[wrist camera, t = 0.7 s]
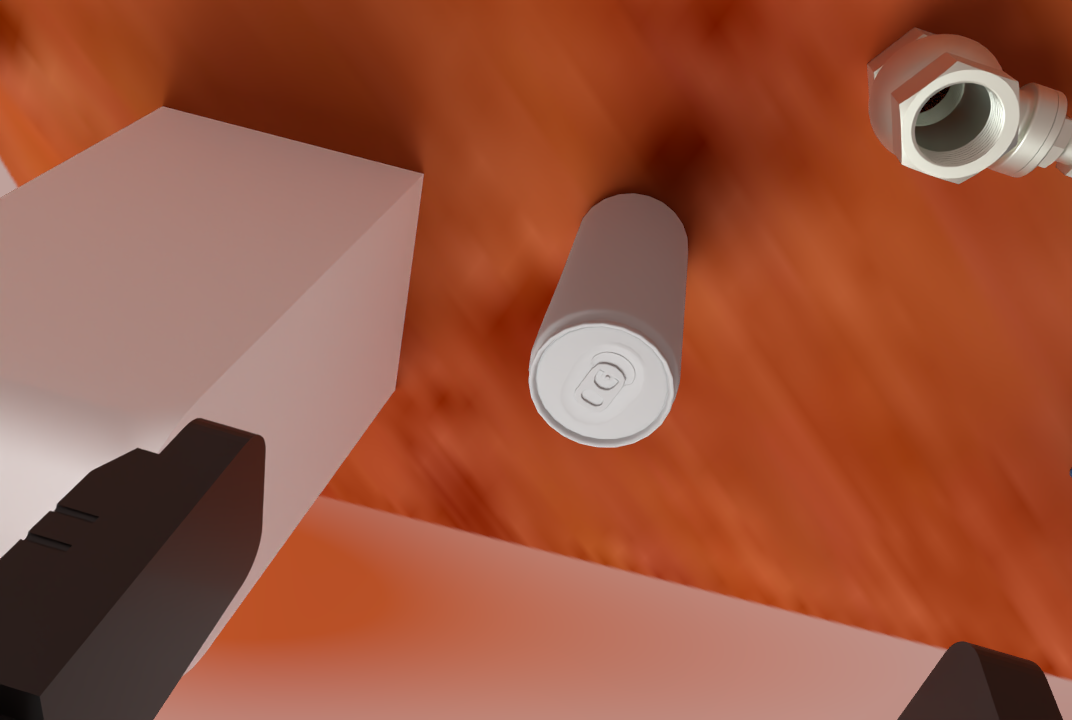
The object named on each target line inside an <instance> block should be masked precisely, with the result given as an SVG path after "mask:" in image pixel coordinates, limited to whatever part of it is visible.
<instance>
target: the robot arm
mask: <svg viewBox="0 0 1072 720" xmlns="http://www.w3.org/2000/svg"><path fill="white" fill-rule="evenodd" d="M265 457H266V445H265V440H264V438H263V437H262V436H261V435H258V434H255V433H251V432H248V431H244V430H241V429H237V428H234V427H230V426H227V425H224V424H220V423H217V422H213V421H210V420H206V419H203V418H196V419H194V420H192V421H191V422H189V423H188V424H187V425H186V426H185V427H184V428H183V429H182V430H181V431H180V432H179V433H178V434H177V436H176V437H175V438H174V439H173V440H172V441H171V442H170V443H169V444H168V445H167V446H166V447H165V448H164V449H163V450H162V451H161V452H160V453H159V454H157V453H154V452H150V451H147V450H144V449H140V448H136V449H134V450H132V451H130V452H128V453H126V454H124V455H122V456H120V457H118V458H116V459H114V460H112V461H110V462H108V463H106V464H104V465H102V466H100V467H98V468H96V469H94V470H92V471H90V472H89V473H88V474H87V475H86V476H85V477H84V478H83V479H82V480H81V481H80V482H79V483H78V484H77V485H76V486H75V487H74V488H73V489H72V490H71V491H70V492H69V493H68V494H66V495H65V496H64V497H63V498H62V499H61V500H60V501H59V502H58V503H57V506H56V509H55V510H54V511H49V512H48V513H47V514H46V515H45V516H44V517H43V518H42V519H41V520H40V521H39V522H38V523H36V524H35V525H34V526H33V527H32V528H31V529H30V530H29V531H28V535H27V537H26V538H25V539H24V540H22V539H20V540H19V541H18V542H17V543H16V544H15V545H14V546H13V547H12V548H11V549H10V550H9V551H8V552H6V553H5V554H4V555H3V556H2V557H1V558H0V720H153V719H154V718H155V716H156V715H157V713H158V712H159V710H160V709H161V707H162V706H163V704H164V703H165V701H166V700H167V698H168V697H169V695H170V694H171V692H172V690H173V689H174V688H175V686H176V685H177V683H178V681H179V680H180V679H181V677H182V676H183V674H184V672H185V671H186V669H187V668H188V666H189V665H190V663H191V662H192V660H193V659H194V657H195V656H196V654H197V653H198V651H199V650H200V648H201V647H202V645H203V644H204V642H205V641H206V639H207V638H208V636H209V635H210V633H211V632H212V630H213V629H214V627H215V626H216V624H217V623H218V621H219V620H220V618H221V617H222V615H223V613H224V612H225V610H226V609H227V607H228V606H229V604H230V603H231V601H232V600H233V598H234V597H235V595H236V594H237V592H238V591H239V589H240V588H241V586H242V585H243V583H244V581H245V580H246V578H247V576H248V574H249V572H250V570H251V568H252V565H253V563H254V560H255V558H256V555H257V552H258V548H259V545H260V541H261V535H262V524H263V502H264V479H265ZM898 720H1063V719H1062V716H1061V714H1060V711H1059V709H1058V706H1057V704H1056V701H1055V699H1054V696H1053V694H1052V691H1051V689H1050V686H1049V684H1048V681H1047V679H1046V677H1045V675H1044V673H1043V671H1042V670H1041V668H1040V667H1039V666H1038V665H1037V664H1036V663H1034V662H1032V661H1030V660H1026V659H1023V658H1019V657H1016V656H1012V655H1009V654H1005V653H1002V652H998V651H995V650H992V649H988V648H985V647H981V646H978V645H974V644H971V643H967V642H963V641H962V642H957V643H955V644H953V645H952V646H951V647H950V648H949V649H948V650H947V651H946V652H945V654H944V655H943V657H942V658H941V659H940V661H939V662H938V664H937V665H936V666H935V668H934V669H933V671H932V672H931V673H930V675H929V676H928V678H927V679H926V680H925V682H924V683H923V685H922V686H921V687H920V689H919V690H918V692H917V693H916V694H915V696H914V697H913V699H912V700H911V701H910V703H909V704H908V705H907V707H906V708H905V710H904V711H903V713H902V714H901V715H900V717H899V718H898Z"/></svg>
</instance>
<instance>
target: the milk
mask: <svg viewBox="0 0 1072 720" xmlns="http://www.w3.org/2000/svg"><path fill="white" fill-rule="evenodd" d="M423 177H424V174H422V173H418V172H414V171H410V170H407V169H403V168H399V167H395V166H391V165H387V164H383V163H380V162H376V161H372V160H368V159H364V158H360V157H356V156H353V155H349V154H345V153H341V152H337V151H333V150H329V149H326V148H322V147H318V146H314V145H310V144H306V143H302V142H299V141H295V140H291V139H287V138H283V137H279V136H275V135H272V134H268V133H264V132H260V131H256V130H252V129H248V128H245V127H241V126H237V125H233V124H229V123H225V122H222V121H218V120H214V119H210V118H206V117H202V116H198V115H195V114H191V113H187V112H183V111H179V110H175V109H171V108H168V107H164V106H162V107H161V108H159V109H157V110H155V111H153V112H152V113H150V114H148V115H146V116H145V117H143V118H141V119H139V120H137V121H136V122H134V123H132V124H130V125H129V126H127V127H125V128H123V129H121V130H120V131H118V132H116V133H114V134H113V135H111V136H109V137H107V138H106V139H104V140H102V141H100V142H98V143H97V144H95V145H93V146H91V147H90V148H88V149H86V150H84V151H82V152H81V153H79V154H77V155H75V156H74V157H72V158H70V159H68V160H66V161H65V162H63V163H61V164H59V165H58V166H56V167H54V168H52V169H51V170H49V171H47V172H45V173H43V174H42V175H40V176H38V177H36V178H35V179H33V180H31V181H29V182H27V183H26V184H24V185H22V186H20V187H19V188H17V189H15V190H13V191H11V192H10V193H8V194H6V195H4V196H3V197H1V198H0V558H1V557H2V556H3V555H4V554H5V553H6V552H8V551H9V550H10V549H11V548H12V547H13V546H14V545H15V544H16V543H17V542H18V541H19V540H20V539H22V540H24V539H25V538H26V537H27V535H28V531H29V530H30V529H31V528H32V527H33V526H34V525H35V524H36V523H38V522H39V521H40V520H41V519H42V518H43V517H44V516H45V515H46V514H47V513H48V512H49V511H54V510H55V509H56V506H57V503H58V502H59V501H60V500H61V499H62V498H63V497H64V496H65V495H66V494H68V493H69V492H70V491H71V490H72V489H73V488H74V487H75V486H76V485H77V484H78V483H79V482H80V481H81V480H82V479H83V478H84V477H85V476H86V475H87V474H88V473H89V472H90V471H92V470H94V469H96V468H98V467H100V466H102V465H104V464H106V463H108V462H110V461H112V460H114V459H116V458H118V457H120V456H122V455H124V454H126V453H128V452H130V451H132V450H134V449H136V448H140V449H144V450H147V451H150V452H154V453H157V454H159V453H160V452H161V451H162V450H163V449H164V448H165V447H166V446H167V445H168V444H169V443H170V442H171V441H172V440H173V439H174V438H175V437H176V436H177V434H178V433H179V432H180V431H181V430H182V429H183V428H184V427H185V426H186V425H187V424H188V423H189V422H191V421H192V420H194V419H196V418H203V419H206V420H210V421H213V422H217V423H220V424H224V425H227V426H230V427H234V428H237V429H241V430H244V431H248V432H251V433H255V434H258V435H261V436H262V437H263V438H264V440H265V445H266V457H265V479H264V502H263V524H262V535H261V541H260V545H259V548H258V552H257V555H256V558H255V560H254V563H253V565H252V568H251V570H250V572H249V574H248V576H247V578H246V580H245V581H244V583H243V585H242V586H241V588H240V589H239V591H238V592H237V594H236V595H235V597H234V598H233V600H232V601H231V603H230V604H229V606H228V607H227V609H226V610H225V612H224V613H223V615H222V617H221V618H220V620H219V621H218V623H217V624H216V626H215V627H214V629H213V630H212V632H211V633H210V635H209V636H208V638H207V639H206V641H205V642H204V644H203V645H202V647H201V648H200V650H199V651H198V653H197V654H196V656H195V657H194V659H193V660H192V662H191V663H190V665H189V666H188V668H187V669H186V671H185V672H184V674H185V673H187V672H188V671H189V670H190V669H192V668H193V667H194V666H195V664H196V663H197V662H198V661H199V660H200V659H201V657H202V656H203V655H204V654H205V652H206V651H207V650H208V649H209V647H210V646H211V644H212V643H213V642H214V640H215V639H216V637H217V636H218V635H219V633H220V632H221V630H222V629H223V628H224V626H225V625H226V623H227V622H228V621H229V619H230V618H231V617H232V615H233V614H234V612H235V611H236V610H237V608H238V607H239V606H240V604H241V603H242V601H243V600H244V599H245V597H246V596H247V594H248V593H249V591H250V590H251V589H252V587H253V586H254V585H255V583H256V582H257V580H258V579H259V578H260V576H261V575H262V574H263V572H264V571H265V569H266V568H267V567H268V565H269V564H270V563H271V561H272V560H273V558H274V557H275V556H276V554H277V553H278V551H279V550H280V548H281V547H282V546H283V545H284V543H285V542H286V540H287V539H288V537H289V536H290V535H291V533H292V532H293V531H294V529H295V528H296V526H297V525H298V524H299V522H300V521H301V520H302V518H303V516H304V515H305V514H306V513H307V511H308V510H309V508H310V507H311V506H312V504H313V503H314V502H315V500H316V499H317V497H318V496H319V495H320V493H321V492H322V490H323V489H324V488H325V486H326V485H327V483H328V482H329V481H330V479H331V478H332V477H333V475H334V474H335V472H336V471H337V470H338V468H339V467H340V465H341V464H342V463H343V461H344V460H345V459H346V457H347V456H348V454H349V453H350V452H351V450H352V449H353V447H354V446H355V445H356V443H357V442H358V441H359V439H360V438H361V436H362V435H363V434H364V432H365V431H366V429H367V428H368V427H369V425H370V424H371V422H372V421H373V420H374V418H375V417H376V416H377V414H378V413H379V411H380V410H381V409H382V407H383V406H384V404H385V403H386V402H387V400H388V399H389V398H390V396H391V395H392V393H393V392H394V391H395V387H396V379H397V372H398V364H399V357H400V350H401V342H402V335H403V327H404V320H405V312H406V305H407V297H408V290H409V282H410V275H411V267H412V260H413V252H414V245H415V237H416V230H417V222H418V215H419V207H420V200H421V192H422V185H423ZM184 674H183V675H184Z"/></svg>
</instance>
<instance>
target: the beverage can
mask: <svg viewBox="0 0 1072 720" xmlns="http://www.w3.org/2000/svg"><path fill="white" fill-rule="evenodd" d="M687 263H688V238H687V235H686V232H685V229H684V226H683V224H682V222H681V221H680V219H679V218H678V216H677V215H676V214H675V212H674V211H672V210H671V209H670V208H669V207H668V206H667V205H665V204H664V203H663V202H661V201H659V200H657V199H654V198H652V197H650V196H646V195H641V194H636V193H630V194H618V195H615V196H612V197H609V198H606V199H604V200H602V201H601V202H599V203H598V204H596V205H595V206H593V207H592V208H591V209H590V210H589V212H588V213H587V214H586V215H585V216H584V218H583V219H582V222H581V225H580V227H579V230H578V232H577V235H576V238H575V241H574V243H573V246H572V249H571V251H570V254H569V257H568V259H567V262H566V265H565V267H564V270H563V273H562V275H561V278H560V280H559V283H558V285H557V288H556V290H555V293H554V295H553V298H552V300H551V302H550V305H549V307H548V310H547V312H546V315H545V317H544V320H543V322H542V325H541V327H540V330H539V332H538V335H537V338H536V340H535V343H534V346H533V348H532V352H531V358H530V364H529V387H530V393H531V398H532V400H533V402H534V404H535V406H536V409H537V411H538V413H539V414H540V415H541V416H542V417H543V419H544V420H545V421H546V422H547V423H548V425H549V426H551V427H552V428H553V429H555V430H556V431H557V432H559V433H560V434H561V435H563V436H564V437H567V438H569V439H571V440H573V441H576V442H578V443H580V444H585V445H589V446H594V447H619V446H624V445H628V444H632V443H635V442H637V441H639V440H641V439H643V438H645V437H647V436H649V435H650V434H651V433H652V432H653V431H655V430H656V429H657V428H658V427H659V426H660V425H661V424H662V423H663V421H664V420H665V418H666V416H667V415H668V413H669V412H670V410H671V406H672V403H673V402H674V400H675V398H676V394H677V390H678V386H679V382H680V371H681V356H682V340H683V325H684V310H685V294H686V279H687Z"/></svg>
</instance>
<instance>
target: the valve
mask: <svg viewBox="0 0 1072 720" xmlns="http://www.w3.org/2000/svg"><path fill="white" fill-rule="evenodd" d="M867 68H868V86H869V116H870V122H871V125H872V127H873V130H874V132H875V135H876V136H877V138H878V139H879V140H880V142H881V143H882V144H883V145H884V146H885V147H886V148H887V149H888V150H889V151H890V152H891V153H893V154H894V155H896V156H897V158H898V159H899V161H900V163H901V164H902V165H904V166H907V167H909V168H912V169H915V170H917V171H920V172H923V173H925V174H928V175H931V176H934V177H937V178H940V179H943V180H947V181H950V182H953V183H957V184H960V183H962V182H963V181H965V180H967V179H969V178H970V177H972V176H974V175H976V174H977V173H979V172H980V171H982V170H984V169H985V168H987V167H988V168H989V169H991V170H994V171H997V172H1000V173H1003V174H1006V175H1009V176H1012V177H1022V176H1024V175H1026V174H1028V173H1029V172H1031V171H1032V170H1033V169H1035V168H1036V167H1037V166H1040V167H1043V168H1045V167H1047V166H1049V165H1050V164H1051V163H1053V162H1054V161H1056V162H1057V164H1056V168H1058V169H1059V170H1060V171H1061V172H1062V173H1063V174H1065V175H1066V176H1069V177H1072V119H1071V118H1070V117H1068V116H1066V113H1067V98H1066V96H1065V95H1064V93H1063V92H1060V91H1057V90H1055V89H1052V88H1049V87H1046V86H1043V85H1040V84H1037V83H1028V84H1026V85H1024V86H1022V87H1021V88H1019V82H1018V81H1017V80H1015V79H1014V78H1012V77H1011V76H1009V75H1008V74H1007V73H1005V72H1004V71H1003V70H1002V68H1001V66H1000V64H999V63H998V61H997V59H996V58H995V56H994V55H993V54H992V53H991V52H990V51H989V50H988V49H987V48H986V47H984V46H983V45H981V44H980V43H978V42H976V41H974V40H972V39H970V38H967V37H964V36H960V35H954V34H937V35H936V34H934V33H931V32H928V31H925V30H922V29H919V28H916V27H914V28H913V29H911V30H910V31H908V32H907V33H906V34H905V35H903V36H902V37H901V38H900V39H898V40H897V41H896V42H894V43H893V44H892V45H891V46H889V47H888V48H887V49H885V50H884V51H883V52H882V53H880V54H879V55H878V56H877V57H875V58H874V59H873V60H871V61H870V62H869V63H868V64H867ZM949 86H950V89H949V91H948V92H947V94H946V95H945V97H944V98H943V99H942V100H941V101H940V102H939V103H938V104H937V105H936V106H934V107H933V108H931V109H930V110H928V111H925V112H922V113H920V111H921V109H922V108H923V106H924V105H925V103H926V102H927V101H928V100H929V99H930V98H931V97H932V96H933V95H935V94H936V93H937V92H939V91H941V90H942V89H944V88H946V87H949Z"/></svg>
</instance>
